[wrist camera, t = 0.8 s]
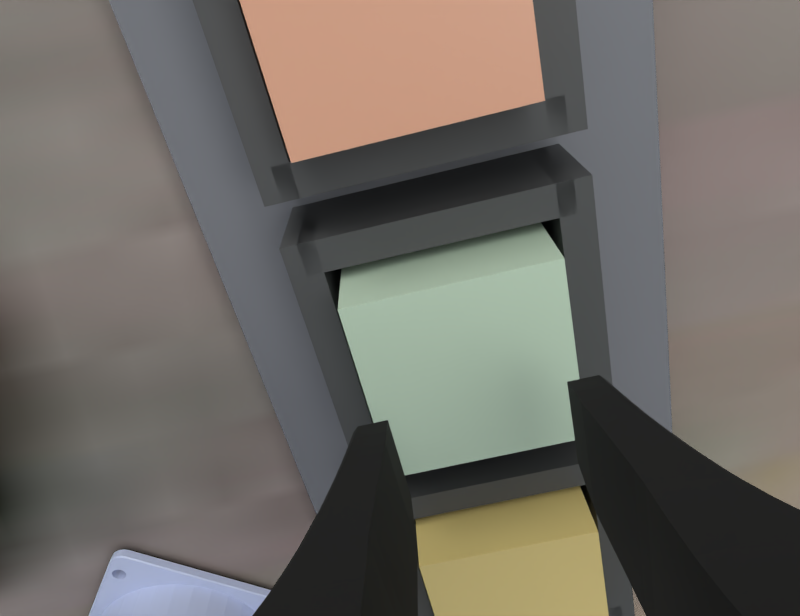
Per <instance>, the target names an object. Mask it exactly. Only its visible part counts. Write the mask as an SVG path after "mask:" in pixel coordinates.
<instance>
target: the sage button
mask: <svg viewBox="0 0 800 616" xmlns="http://www.w3.org/2000/svg"><path fill="white" fill-rule="evenodd" d="M338 313H339V316H340V319H341V322H342V325H343V328H344V332H345V335H346V338H347V341H348V344H349V347H350V350H351V354H352V357H353V360H354V363H355V366H356V369H357V372H358V376H359V379H360V382H361V385H362V388H363V391H364V394H365V398H366V401H367V404H368V407H369V410H370V413H371V416H372V420H373V423H376V422H381V421H385V420H388V422H389V426H390V429H391V432H392V436H393V439H394V442H395V445H396V449H397V452H398V455H399V459H400V462H401V465H402V468H403V472H404V475H410V474H415V473H420V472H424V471H429V470H434V469H439V468H444V467H449V466H454V465H458V464H463V463H468V462H473V461H478V460H483V459H487V458H492V457H497V456H502V455H507V454H512V453H516V452H521V451H526V450H531V449H536V448H541V447H545V446H550V445H555V444H560V443H565V442H570V441H575V436H574V429H573V422H572V414H571V407H570V400H569V392H568V385H567V382H568V381H573V380H578V379H579V371H578V363H577V355H576V347H575V339H574V331H573V323H572V315H571V307H570V299H569V291H568V283H567V275H566V267H565V259H564V257H563V255H562V254H561V252H560V251H559V249H558V248H557V246H556V245H555V243H554V242H553V240H552V239H551V237H550V236H549V234H548V233H547V231H546V230H545V228H544V227H543V225H542V224H541V222H540V223H535V224H531V225H527V226H522V227H518V228H514V229H510V230H505V231H501V232H497V233H492V234H488V235H484V236H479V237H475V238H471V239H466V240H462V241H458V242H454V243H449V244H445V245H441V246H436V247H432V248H428V249H423V250H419V251H415V252H410V253H406V254H402V255H397V256H393V257H389V258H385V259H380V260H376V261H372V262H367V263H363V264H359V265H354V266H350V267H346V268H342V270H341V280H340V290H339V300H338Z"/></svg>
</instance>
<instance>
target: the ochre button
mask: <svg viewBox="0 0 800 616" xmlns="http://www.w3.org/2000/svg"><path fill="white" fill-rule="evenodd" d="M415 521H416V534H417V546H418V559H419V568H420V571H421V574H422V577H423V581H424V584H425V587H426V590H427V593H428V596H429V599H430V603H431V606H432V609H433V612H434V615H435V616H609V614H608V606H607V598H606V590H605V581H604V573H603V565H602V557H601V549H600V541H599V533H598V530H597V527H596V525H595V522H594V520H593V517H592V515H591V512H590V510H589V507H588V505H587V502H586V500H585V497H584V495H583V492H582V490H581V488H580V486H577V487H572V488H567V489H562V490H557V491H552V492H547V493H542V494H537V495H532V496H527V497H522V498H517V499H512V500H507V501H502V502H497V503H492V504H487V505H482V506H477V507H472V508H467V509H462V510H457V511H453V512H448V513H443V514H438V515H433V516H428V517H423V518H418V519H415Z"/></svg>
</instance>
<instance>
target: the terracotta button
mask: <svg viewBox="0 0 800 616" xmlns="http://www.w3.org/2000/svg"><path fill="white" fill-rule="evenodd" d="M239 1H240V4H241V7H242V10H243V13H244V16H245V19H246V23H247V26H248V29H249V32H250V35H251V38H252V41H253V45H254V48H255V51H256V54H257V57H258V60H259V63H260V67H261V70H262V73H263V76H264V79H265V82H266V85H267V89H268V92H269V95H270V98H271V101H272V104H273V107H274V111H275V114H276V117H277V120H278V123H279V126H280V130H281V133H282V136H283V139H284V142H285V145H286V148H287V152H288V155H289V158H290V161H291V163H294V162H298V161H302V160H306V159H310V158H314V157H318V156H322V155H326V154H330V153H335V152H339V151H343V150H347V149H351V148H355V147H359V146H363V145H367V144H371V143H375V142H379V141H383V140H387V139H392V138H396V137H400V136H404V135H408V134H412V133H416V132H420V131H424V130H428V129H432V128H436V127H440V126H444V125H449V124H453V123H457V122H461V121H465V120H469V119H473V118H477V117H481V116H485V115H489V114H493V113H497V112H501V111H506V110H510V109H514V108H518V107H522V106H526V105H530V104H534V103H538V102H542V101H545V96H544V88H543V80H542V72H541V64H540V56H539V48H538V40H537V32H536V23H535V15H534V7H533V0H239Z"/></svg>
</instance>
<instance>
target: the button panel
mask: <svg viewBox="0 0 800 616" xmlns="http://www.w3.org/2000/svg"><path fill="white" fill-rule="evenodd" d="M109 2H110V5H111V7H112V9H113V12H114V14H115V17H116V19H117V22H118V24H119V27H120V29H121V32H122V34H123V37H124V39H125V42H126V44H127V47H128V49H129V52H130V54H131V56H132V59H133V61H134V64H135V66H136V69H137V71H138V74H139V76H140V79H141V81H142V84H143V86H144V89H145V91H146V94H147V96H148V99H149V101H150V103H151V106H152V108H153V111H154V113H155V116H156V118H157V121H158V123H159V126H160V128H161V131H162V133H163V136H164V138H165V141H166V143H167V146H168V148H169V150H170V153H171V155H172V158H173V160H174V163H175V165H176V168H177V170H178V173H179V175H180V178H181V180H182V183H183V185H184V188H185V190H186V193H187V195H188V197H189V200H190V202H191V205H192V207H193V210H194V212H195V215H196V217H197V220H198V222H199V225H200V227H201V230H202V232H203V235H204V237H205V240H206V242H207V245H208V247H209V249H210V252H211V254H212V257H213V259H214V262H215V264H216V267H217V269H218V272H219V274H220V277H221V279H222V282H223V284H224V287H225V289H226V292H227V294H228V296H229V299H230V301H231V304H232V306H233V309H234V311H235V314H236V316H237V319H238V321H239V324H240V326H241V329H242V331H243V334H244V336H245V339H246V341H247V343H248V346H249V348H250V351H251V353H252V356H253V358H254V361H255V363H256V366H257V368H258V371H259V373H260V376H261V378H262V381H263V383H264V386H265V388H266V390H267V393H268V395H269V398H270V400H271V403H272V405H273V408H274V410H275V413H276V415H277V418H278V420H279V423H280V425H281V428H282V430H283V433H284V435H285V437H286V440H287V442H288V445H289V447H290V450H291V452H292V455H293V457H294V460H295V462H296V465H297V467H298V470H299V472H300V475H301V477H302V480H303V482H304V484H305V487H306V489H307V492H308V494H309V497H310V499H311V502H312V504H313V507H314V509H315V512H316V514H318V512H319V510H320V508H321V506H322V504H323V502H324V500H325V497H326V495H327V493H328V491H329V489H330V487H331V485H332V483H333V481H334V479H335V476H336V474H337V472H338V469H339V467H340V465H341V463H342V460H343V458H344V455H345V453H346V450H347V448H348V445H349V443H350V440H351V437H352V435H353V432H354V431H355V429H356V428H357V427H358V426H362V425H367V424H371V423H373V420H372V416H371V413H370V410H369V407H368V404H367V401H366V398H365V394H364V391H363V388H362V385H361V382H360V379H359V376H358V372H357V369H356V366H355V363H354V360H353V357H352V354H351V350H350V347H349V344H348V341H347V338H346V335H345V332H344V328H343V325H342V322H341V319H340V316H339V313H338V300H339V290H340V280H341V270H342V268H346V267H350V266H354V265H359V264H363V263H367V262H372V261H376V260H380V259H385V258H389V257H393V256H397V255H402V254H406V253H410V252H415V251H419V250H423V249H428V248H432V247H436V246H441V245H445V244H449V243H454V242H458V241H462V240H466V239H471V238H475V237H479V236H484V235H488V234H492V233H497V232H501V231H505V230H510V229H514V228H518V227H522V226H527V225H531V224H535V223H540V222H541V224H542V225H543V227H544V228H545V230H546V231H547V233H548V234H549V236H550V237H551V239H552V240H553V242H554V243H555V245H556V246H557V248H558V249H559V251H560V252H561V254H562V255H563V257H564V259H565V267H566V275H567V283H568V291H569V299H570V307H571V315H572V323H573V331H574V339H575V347H576V355H577V363H578V371H579V379H582V378H587V377H592V376H596V375H600V376H602V377H603V378H605V379H606V380H607V381H608V382H609V383H610V384H612V385H613V386H614V387H615V388H616V389H617V390H619V391H620V392H621V393H622V394H623V395H624V396H626V397H627V398H628V399H629V400H630V401H631V402H633V403H634V404H635V405H636V406H638V407H639V408H640V409H641V410H643V411H644V412H645V413H646V414H647V415H649V416H650V417H651V418H653V419H654V420H655V421H656V422H658V423H659V424H660V425H662V426H663V427H665V428H666V429H667V430H669V431H670V432H671V433H672V418H671V395H670V373H669V351H668V329H667V307H666V284H665V262H664V240H663V218H662V196H661V174H660V151H659V129H658V107H657V85H656V63H655V41H654V18H653V0H533V7H534V15H535V23H536V32H537V40H538V48H539V56H540V64H541V72H542V80H543V88H544V96H545V101H542V102H538V103H534V104H530V105H526V106H522V107H518V108H514V109H510V110H506V111H501V112H497V113H493V114H489V115H485V116H481V117H477V118H473V119H469V120H465V121H461V122H457V123H453V124H449V125H444V126H440V127H436V128H432V129H428V130H424V131H420V132H416V133H412V134H408V135H404V136H400V137H396V138H392V139H387V140H383V141H379V142H375V143H371V144H367V145H363V146H359V147H355V148H351V149H347V150H343V151H339V152H335V153H330V154H326V155H322V156H318V157H314V158H310V159H306V160H302V161H298V162H294V163H291V161H290V158H289V155H288V152H287V148H286V145H285V142H284V139H283V136H282V133H281V130H280V126H279V123H278V120H277V117H276V114H275V111H274V107H273V104H272V101H271V98H270V95H269V92H268V89H267V85H266V82H265V79H264V76H263V73H262V70H261V67H260V63H259V60H258V57H257V54H256V51H255V48H254V45H253V41H252V38H251V35H250V32H249V29H248V26H247V23H246V19H245V16H244V13H243V10H242V7H241V4H240V1H239V0H109ZM405 478H406V482H407V485H408V488H409V491H410V495H411V500H412V507H413V515H414V523H415V531H416V521H415V519H418V518H423V517H428V516H433V515H438V514H443V513H448V512H453V511H457V510H462V509H467V508H472V507H477V506H482V505H487V504H492V503H497V502H502V501H507V500H512V499H517V498H522V497H527V496H532V495H537V494H542V493H547V492H552V491H557V490H562V489H567V488H572V487H577V486H580V488H581V490H582V492H583V495H584V497H585V500H586V502H587V505H588V507H589V510H590V512H591V515H592V517H593V520H594V522H595V525H596V527H597V530H598V533H599V541H600V549H601V557H602V565H603V573H604V581H605V590H606V598H607V606H608V614H609V616H635V614H634V603H633V593H632V585H631V583H630V581H629V579H628V577H627V575H626V573H625V571H624V569H623V567H622V565H621V563H620V561H619V559H618V557H617V555H616V553H615V551H614V549H613V547H612V545H611V543H610V541H609V538H608V536H607V534H606V532H605V530H604V528H603V526H602V524H601V522H600V520H599V518H598V516H597V514H596V512H595V509H594V507H593V504H592V501H591V498H590V496H589V493H588V490H587V487H586V484H585V481H584V478H583V476H582V473H581V470H580V467H579V464H578V459H577V451H576V444H575V441H570V442H565V443H560V444H555V445H550V446H545V447H541V448H536V449H531V450H526V451H521V452H516V453H512V454H507V455H502V456H497V457H492V458H487V459H483V460H478V461H473V462H468V463H463V464H458V465H454V466H449V467H444V468H439V469H434V470H429V471H424V472H420V473H415V474H410V475H405ZM416 540H417V534H416ZM417 571H418V616H435V615H434V612H433V609H432V606H431V603H430V599H429V596H428V593H427V590H426V587H425V584H424V581H423V577H422V574H421V571H420V568H419V559H418V546H417Z"/></svg>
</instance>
